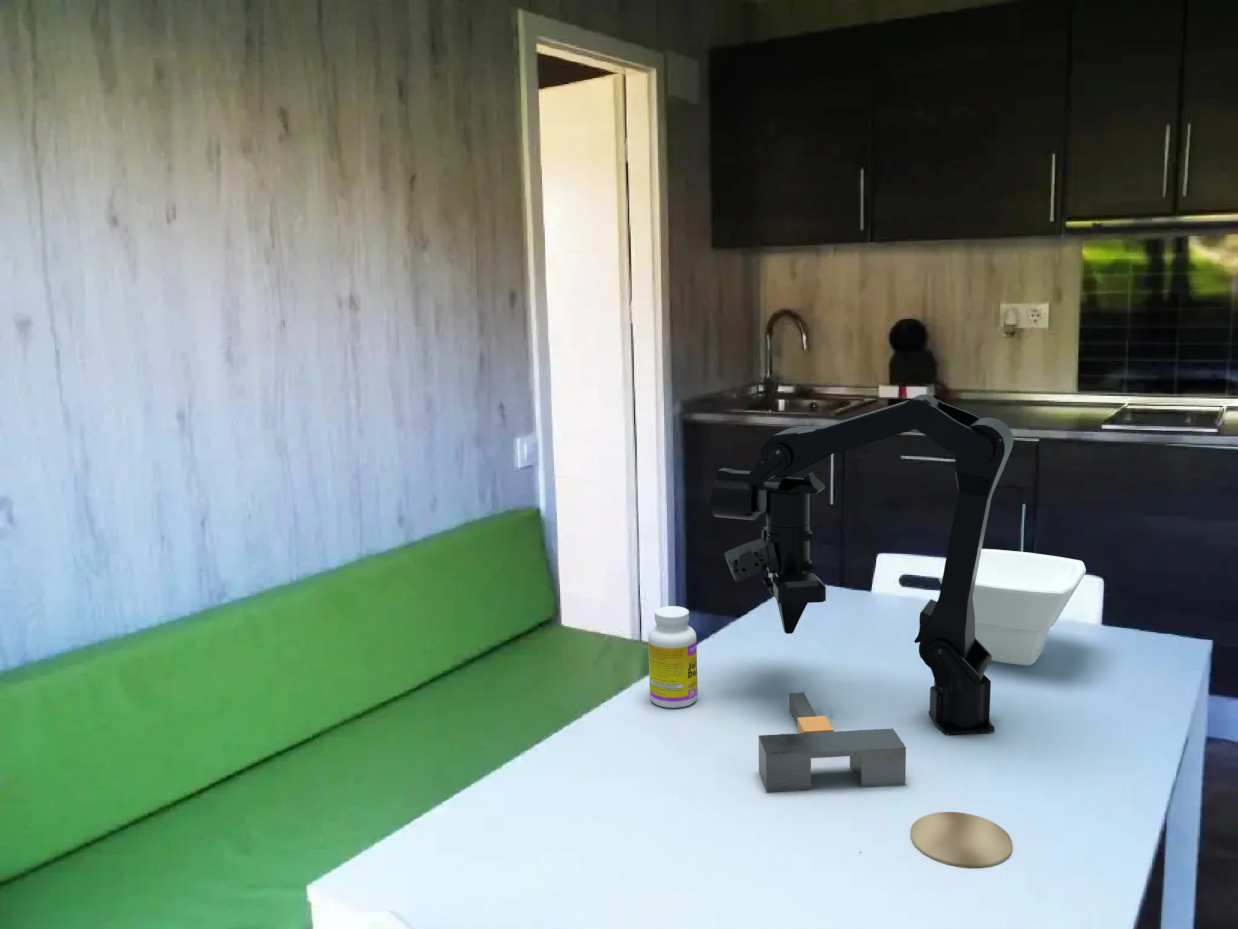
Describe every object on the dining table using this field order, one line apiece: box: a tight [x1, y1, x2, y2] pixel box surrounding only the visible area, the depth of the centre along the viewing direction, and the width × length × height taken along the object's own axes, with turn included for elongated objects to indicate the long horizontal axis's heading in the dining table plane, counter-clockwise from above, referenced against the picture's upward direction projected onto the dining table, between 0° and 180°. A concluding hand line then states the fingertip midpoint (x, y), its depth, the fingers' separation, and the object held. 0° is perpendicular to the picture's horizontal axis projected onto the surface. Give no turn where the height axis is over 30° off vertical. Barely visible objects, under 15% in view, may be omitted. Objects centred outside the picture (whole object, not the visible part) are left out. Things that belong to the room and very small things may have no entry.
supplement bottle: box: [647, 605, 698, 709], centre depth 145 cm, size 7×7×13 cm
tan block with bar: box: [788, 691, 835, 733], centre depth 135 cm, size 4×13×3 cm, turn 3°
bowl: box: [938, 548, 1087, 666], centre depth 156 cm, size 19×19×14 cm
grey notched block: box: [758, 728, 907, 793], centre depth 122 cm, size 16×5×5 cm, turn 92°
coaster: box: [909, 811, 1013, 869], centre depth 109 cm, size 10×10×1 cm
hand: (788, 632), depth 145 cm, fingers closed
